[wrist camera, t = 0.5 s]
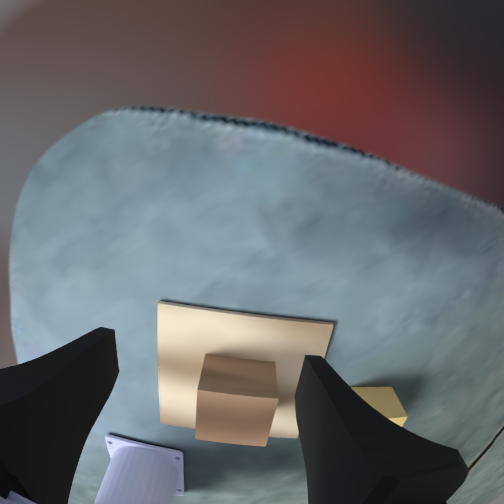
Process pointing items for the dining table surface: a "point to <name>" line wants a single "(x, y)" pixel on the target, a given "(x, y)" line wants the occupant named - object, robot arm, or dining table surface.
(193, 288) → the dining table surface
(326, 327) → the build board
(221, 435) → the walnut block
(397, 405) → the ochre block
